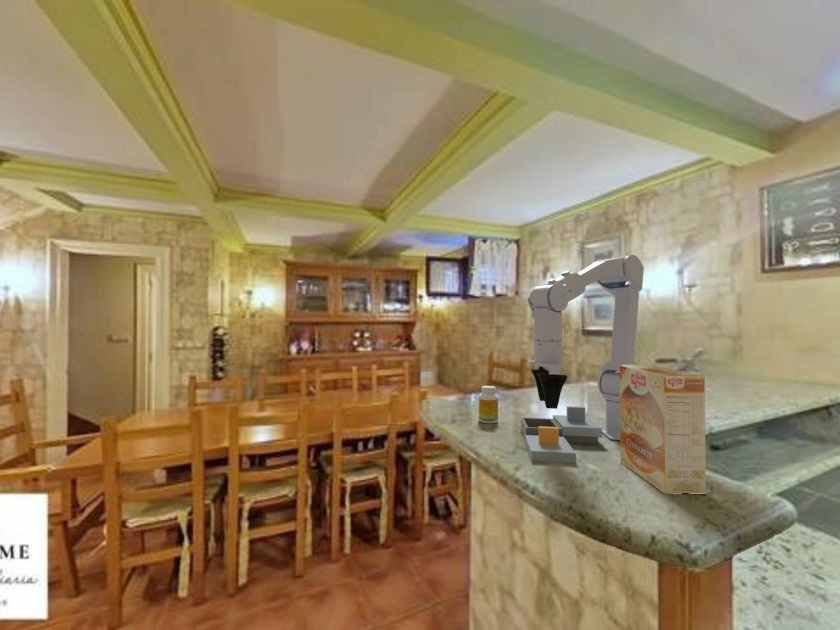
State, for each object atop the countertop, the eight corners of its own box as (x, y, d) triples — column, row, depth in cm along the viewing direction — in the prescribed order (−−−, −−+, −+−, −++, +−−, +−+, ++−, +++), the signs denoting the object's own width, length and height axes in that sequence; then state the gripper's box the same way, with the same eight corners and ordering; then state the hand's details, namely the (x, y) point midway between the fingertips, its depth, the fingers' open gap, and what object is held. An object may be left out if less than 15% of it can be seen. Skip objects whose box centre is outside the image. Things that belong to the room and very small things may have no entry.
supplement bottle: (498, 424, 107) (498, 388, 107) (478, 423, 108) (478, 387, 108) (498, 419, 112) (498, 385, 112) (479, 418, 113) (479, 384, 113)
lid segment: (562, 435, 89) (562, 411, 89) (552, 422, 100) (552, 401, 100) (602, 437, 88) (602, 413, 88) (587, 424, 99) (587, 403, 99)
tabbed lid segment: (563, 445, 88) (563, 421, 88) (576, 463, 77) (575, 436, 77) (524, 443, 89) (524, 420, 89) (531, 460, 78) (531, 433, 78)
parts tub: (585, 432, 99) (585, 420, 99) (597, 444, 89) (597, 430, 89) (520, 429, 101) (520, 417, 101) (525, 441, 91) (526, 427, 91)
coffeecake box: (618, 462, 78) (618, 364, 78) (654, 462, 77) (654, 364, 78) (663, 494, 63) (662, 373, 63) (708, 495, 62) (707, 374, 63)
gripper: (524, 339, 91) (524, 397, 91) (533, 342, 77) (533, 411, 77) (555, 339, 90) (555, 398, 90) (571, 342, 76) (571, 412, 76)
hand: (548, 404), depth 83 cm, fingers open, 7 cm apart
